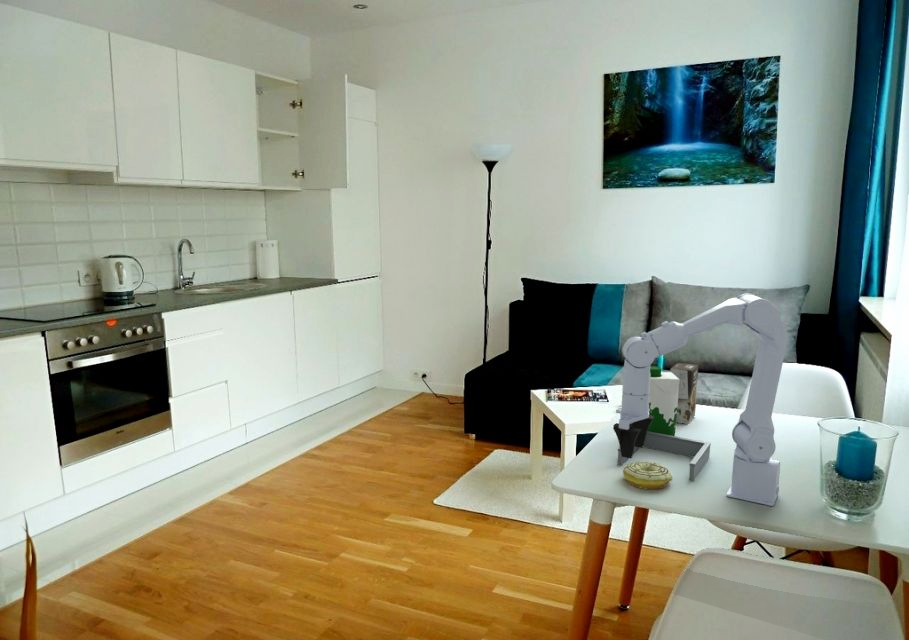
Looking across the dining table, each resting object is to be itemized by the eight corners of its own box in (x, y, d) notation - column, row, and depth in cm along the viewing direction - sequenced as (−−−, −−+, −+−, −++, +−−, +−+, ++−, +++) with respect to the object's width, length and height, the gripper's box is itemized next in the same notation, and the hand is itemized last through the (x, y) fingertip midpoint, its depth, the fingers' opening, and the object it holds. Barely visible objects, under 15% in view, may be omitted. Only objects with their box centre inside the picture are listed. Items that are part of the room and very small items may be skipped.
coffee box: (688, 425, 197) (692, 370, 195) (666, 421, 201) (669, 367, 198) (695, 416, 205) (699, 364, 202) (674, 413, 208) (677, 361, 206)
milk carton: (636, 433, 189) (640, 363, 186) (669, 434, 189) (673, 364, 186) (644, 444, 181) (648, 371, 177) (678, 445, 180) (683, 371, 177)
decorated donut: (680, 484, 156) (681, 469, 155) (650, 495, 149) (651, 479, 149) (643, 469, 164) (644, 455, 163) (613, 480, 158) (614, 464, 157)
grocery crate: (709, 458, 171) (710, 442, 171) (693, 481, 157) (695, 464, 156) (638, 444, 181) (639, 429, 180) (617, 464, 166) (617, 448, 166)
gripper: (628, 382, 156) (625, 439, 159) (606, 397, 144) (603, 458, 147) (659, 387, 153) (655, 445, 155) (639, 402, 141) (635, 464, 143)
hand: (632, 451), depth 151 cm, fingers open, 7 cm apart
